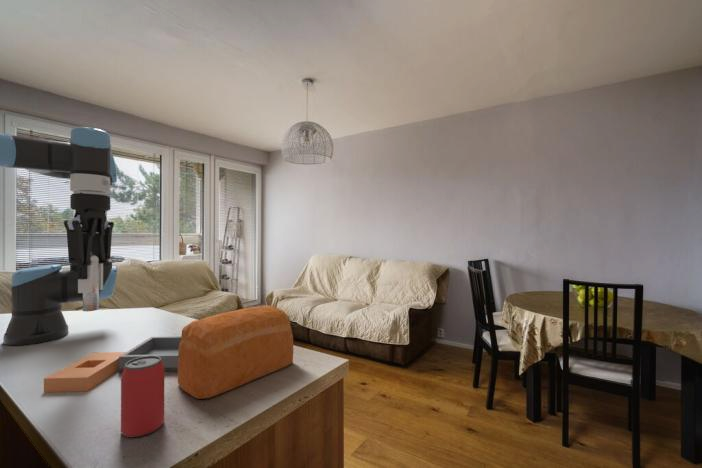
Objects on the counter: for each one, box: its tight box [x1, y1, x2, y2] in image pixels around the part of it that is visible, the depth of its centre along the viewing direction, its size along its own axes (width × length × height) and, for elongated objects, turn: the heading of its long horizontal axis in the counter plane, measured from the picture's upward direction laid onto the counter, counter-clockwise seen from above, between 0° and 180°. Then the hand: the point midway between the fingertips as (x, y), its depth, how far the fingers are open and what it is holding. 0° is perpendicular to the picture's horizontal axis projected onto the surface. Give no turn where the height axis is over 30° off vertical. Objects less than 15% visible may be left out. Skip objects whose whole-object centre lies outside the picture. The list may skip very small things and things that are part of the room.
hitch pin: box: [82, 254, 100, 312], centre depth 78 cm, size 3×3×14 cm
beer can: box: [120, 356, 165, 438], centre depth 58 cm, size 7×7×12 cm
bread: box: [177, 304, 294, 400], centre depth 80 cm, size 14×26×16 cm, turn 141°
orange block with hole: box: [43, 351, 127, 393], centre depth 78 cm, size 15×9×3 cm, turn 4°
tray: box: [118, 335, 182, 374], centre depth 88 cm, size 15×15×4 cm
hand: (90, 291), depth 78 cm, fingers closed on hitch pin, 3 cm apart
